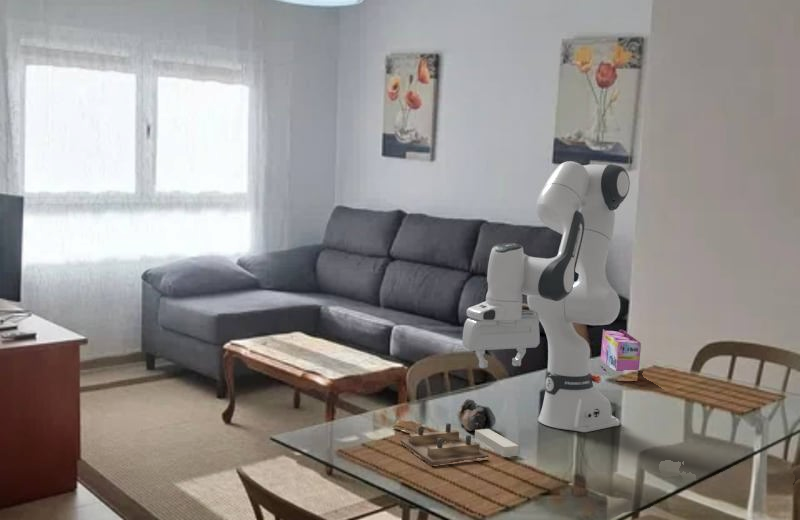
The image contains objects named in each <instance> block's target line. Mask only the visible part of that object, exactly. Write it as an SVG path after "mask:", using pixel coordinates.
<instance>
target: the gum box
mask: <svg viewBox="0 0 800 520" xmlns="http://www.w3.org/2000/svg"><path fill="white" fill-rule="evenodd" d="M641 349H642V343H641V341H639V340H638V339H636V338H635V337H634V336H632V335H630V333H628V332H627V331H625V330H624V329H619V330H618V331H614V330H606V329H605V328H604V329H602V338H601V349H600V361H601V360H602V361H603V362H604V363H605V364H606V365H608V366H609V367H610V368H612V369H613V370H615V371H623V370H638V369H639V370H640V362H641V361H640V359H641V358H640V357H641V352H642V351H641Z"/></svg>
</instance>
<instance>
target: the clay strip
mask: <svg viewBox="0 0 800 520" xmlns="http://www.w3.org/2000/svg"><path fill="white" fill-rule="evenodd" d="M475 438H477V439H479V440H480V441H482V442H484V443H485V444H487V445H488V446H490V447H491V448H492V449H494V450H495V451H497V452H498V453H499V454H501V455H502V456H517V457H518V456H519V444H516V443H514V442H513V441H511V440H509V439H507V438H506V437H504V436H502V435H500V434H498V433H497V432H495V431H494V430H492V429H491V430H490V429H481V430H475V432H474V439H475Z"/></svg>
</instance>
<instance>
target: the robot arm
mask: <svg viewBox="0 0 800 520" xmlns="http://www.w3.org/2000/svg"><path fill="white" fill-rule="evenodd" d="M630 183H631V182H630V176H629V174H628V172H627V171H626V169H625V168H624V167H623V166H620V165H617V164H613V163H612V164H598V163H596V164H593V163H592V164H591V163H590V164H584V165H582V164H581V163H579V162H577V161H572V160H569V161H564V162H562V163H560V164H559V165H558V166H557V167H556V168H555V169H554V170H553V171H552V173H551V174H550V175H549V177H548V179H547V180H546V182H545V184H544V186H543V187H542V190H540V193H539V195H538V197H537V200H536V205H535V207H536V208H535V209H536V213H537V217H538V218H539V220H540V221H541V222H542V223H543V225H545V226H546V227H547V228H549V229H550V230H552V231H554V232H557V233H558V234H560V235H562V237H561V241H560V244H559V248H558V252H557V255H556V256H554V257H549V258H544V257H537V256H535V257H534V256H530V255H527V254H526V253H524V247H523V246H522V245H521V244H518V243H513V242H506V243H505V242H504V243H498V244H495V245H494V246H492V248H491V251H490V254H489V259H488V265H487V276H486V282H487V292H486V295H485V301H483V302H480V303H478V304H476V305H473V306H470V307H468V308H466V316H467V317H468V318H466V320H465V322H464V324H463V331H462V340H461V343H462V346H463V348H464V349H466V350H468V351H472V352H473V351H475V355H476V358H477V359H478V367H479V368H480V369H486V368H487V369H488V367H489V366H488V364H489V360H486V359H485V357H484V355H485V354H486V351H487V350H488V351H490V350H492V351H493V350H510V349H516V351H517V353H516V355H515V357H512V360H511V361H512V362H511V365H512V366H513V367H521V365H522V359H523V358H524V356H525V355H526V353H527V349H528V348H529V349H530V348H535V349H536V348H537V347H538V346H539V344H540V341H541V340H540V337H541V336H540V325H539V324H540V323H541V326H542V328H543V329H544V334H545V335H546V340H547V351H548V352H547V358H548V359H547V369H546V370H545V376H544V378H545V379H544V388H545V392H544V398H543V403H542V406H541V407H542V408H541V410H540V413H539V417H538V419H537V420H538V422H539V423H541V424H543V425H544V426H548V427H550V428H553V429H554V428H555V429H559V430H560V429H561V430H567V431H568V430H569V431H576V432H579V433H588V432H592V431H598V430H603V429H607V428H612V427H618V426H620V424H621V423H620V420H619V419H618V418H617V417H615V416H614V415H612V405H611V402H610V400H609V399H608V398H607V397H606V396H604V395H603V394H602V392H600V391H599V390H598V389H596V388H595V386H594V383H596V384H599V383H600V382H601V380H602V378H601V376H600V375H597V374H591V373H590V372H589V371H590V359H591V358H590V356H591V348H590V345H589V343H588V341H587V340H586V339H585V338H584V337H582V336H581V335H579V333H578V332H577V331H576V329H575V327H574V324H573V323H575V324H582V325H588V326H605V325H611V324H612V323H614V321H616V319H617V318H618V316H619V314H620V310H621V300H620V297H619V295H618V293H617V291H616V290H615V289H614V288H613V287H612V286H611V284H610V283H609V281H608V279H607V274H606V264H607V259H608V256H609V255H608V254H609V250H610V247H611V243H612V239H613V236H614V235H613V234H614V228H615V218H616V213H615V210H616V209H618V208H619V206H620V205H621V204H622V203H623V202H624V200H625V199H626V197H627V195H628V193H629V191H630V185H631V184H630ZM576 273H577V274H578V278H577V280H576V281H575V277H576V276H575V275H576ZM523 295H525V296H526V301H527V306H528V310H527V309H523Z"/></svg>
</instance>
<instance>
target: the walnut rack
mask: <svg viewBox="0 0 800 520" xmlns="http://www.w3.org/2000/svg"><path fill="white" fill-rule="evenodd" d="M471 440H472V436H471V435H470V434H469V435H468V434H466V435H465V440H464V439H462V438H461V437H460V431H459V430H457V429H453V430H452V423H450V422H446V424H445V430H443V431H442V430H441V431H433V432H431V431H430V432H424V426H423V425H422V426H419V427H418V434H410V435H409V434H408V438H405V439H404V438H403V439H402V438H401V439H400V440H399V441H400V442H401V443H402V444H404V445H406V446H407V447H409V448H410V449H411V450H413V451H414V452H415V453H416V454H417V455H419V456H420V457H421V458H422V459H424V460H425V461H426V462H427V463H429V464H430V465H431V466H433V465H440V464H447V463H453V462H459V461H464V460H471V459H477V458H485V457H489V455H488V454H487V453H485V452H484V451H482V450H481V449H480V447H481V444H480V443H478V442H476V441H473V442H472V441H471ZM445 441H446V442H445ZM444 442H445V443H444ZM450 442H451V443H450ZM427 463H426V464H427ZM430 465H429V466H430ZM431 466H430V467H431Z"/></svg>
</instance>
